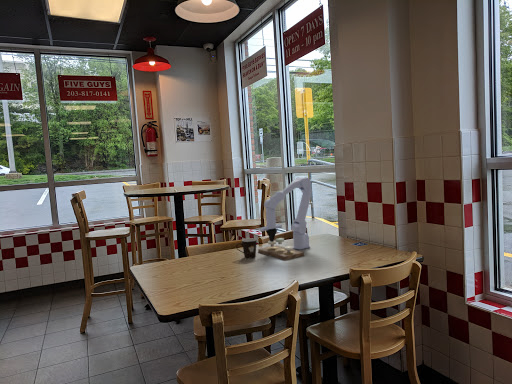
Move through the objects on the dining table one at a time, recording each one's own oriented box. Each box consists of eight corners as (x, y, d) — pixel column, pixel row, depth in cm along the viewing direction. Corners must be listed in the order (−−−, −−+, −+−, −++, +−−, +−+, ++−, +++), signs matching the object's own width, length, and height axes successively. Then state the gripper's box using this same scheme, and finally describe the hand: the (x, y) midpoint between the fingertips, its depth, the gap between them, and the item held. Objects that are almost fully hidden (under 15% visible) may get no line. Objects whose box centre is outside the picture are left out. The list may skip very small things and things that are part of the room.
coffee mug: (258, 254, 225) (257, 238, 224) (256, 258, 216) (255, 241, 215) (238, 255, 226) (237, 238, 225) (236, 259, 217) (235, 241, 216)
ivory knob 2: (289, 250, 221) (289, 245, 221) (295, 252, 217) (294, 247, 216) (282, 252, 218) (282, 247, 218) (288, 253, 214) (287, 248, 214)
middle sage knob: (280, 242, 227) (280, 237, 227) (286, 243, 223) (285, 238, 223) (274, 243, 224) (273, 238, 224) (279, 245, 220) (279, 240, 220)
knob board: (276, 248, 239) (276, 245, 239) (304, 255, 217) (303, 251, 217) (258, 252, 231) (258, 248, 231) (284, 260, 209) (284, 256, 209)
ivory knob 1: (273, 244, 234) (272, 240, 234) (278, 246, 230) (277, 241, 230) (266, 246, 231) (266, 241, 231) (271, 247, 227) (271, 242, 227)
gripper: (276, 217, 237) (277, 238, 238) (257, 219, 229) (258, 242, 230) (283, 218, 231) (284, 240, 232) (263, 221, 223) (265, 243, 224)
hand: (271, 241), depth 230 cm, fingers closed, pressing on ivory knob 1
